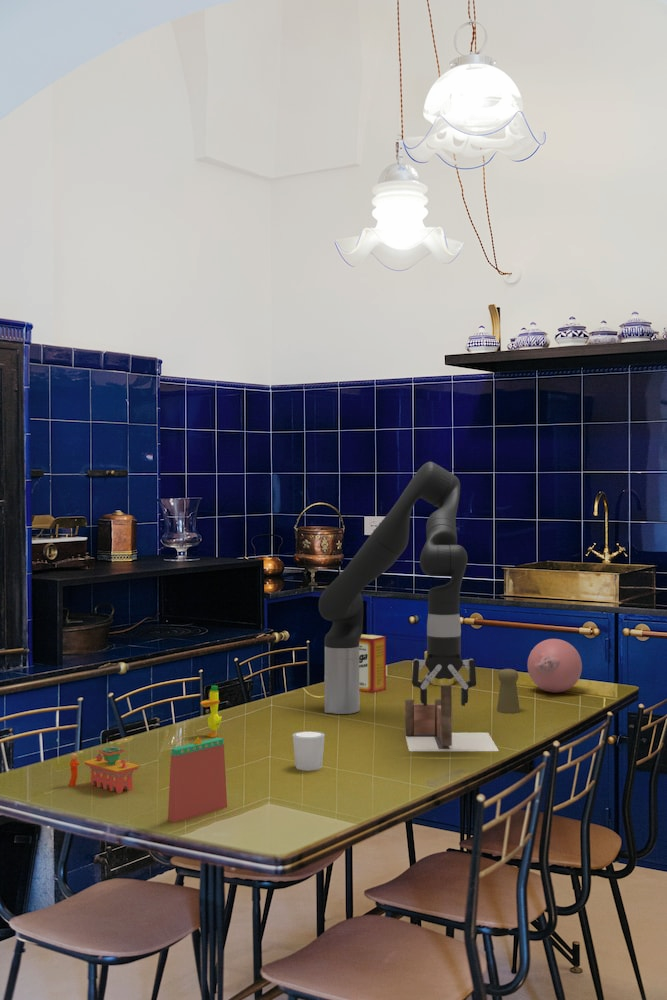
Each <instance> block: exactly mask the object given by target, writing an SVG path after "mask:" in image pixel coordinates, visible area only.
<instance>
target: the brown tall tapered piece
mask: <svg viewBox="0 0 667 1000" xmlns="http://www.w3.org/2000/svg"><path fill="white" fill-rule="evenodd" d="M497 676H498V680H499V682H500V683H499V692H498V699H497V706H496V711H497V712H498V713H501V714H502V713H503V714H518V713H520V711H521V710H520V703H519V702H520V701H519V694H518V687H517V685H518V684H517V681H518V680H519V674H518V671H517V670H515V669H512V668H504V669H501V670H500V671H498V675H497Z"/></svg>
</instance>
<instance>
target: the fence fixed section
mask: <svg viewBox="0 0 667 1000" xmlns="http://www.w3.org/2000/svg"><path fill="white" fill-rule="evenodd" d="M414 700H415V699H412V698H411V699H410V698H409V699H404V702H405V703H404V706H405V707H404V708H405V709H404V715H405V716H404V719H405V720H404V721H405V722H404V725H405V726H404V729H405V730H404V737H405V736H414V734H435V736H437V706H438V705H441V698H440V699H439V698H438V699H437V698H436V699H434V703H427V706H424V705H423V703H415V701H414Z"/></svg>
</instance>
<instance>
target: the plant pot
mask: <svg viewBox="0 0 667 1000" xmlns="http://www.w3.org/2000/svg"><path fill="white" fill-rule="evenodd" d="M426 658H427V650H426V651H424V660H426ZM427 671H428V672H429V669H428V668H427ZM454 683H455V677H453V678H451V679H446V678H443V679H437V678H435V677H434V678H433V680H432V681H431V682H430V684H431V685H432V686H436V685H437V687H438V686H440V687H441V686H443V685H449V686H452V685H453V684H454Z"/></svg>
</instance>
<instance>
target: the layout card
mask: <svg viewBox="0 0 667 1000" xmlns="http://www.w3.org/2000/svg"><path fill="white" fill-rule="evenodd" d="M404 737H405V740H406V744H407V745H406V746H407V748H408V752H499V751H500V750H499V749H498V747H497V745H496V744H495V741H494V740H493V739H492V737H491V735H490V733H489V732H452V745H451V746H442V745H441V741H440V739H439V737H438V736H435V734H414V736H405V735H404Z"/></svg>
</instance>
